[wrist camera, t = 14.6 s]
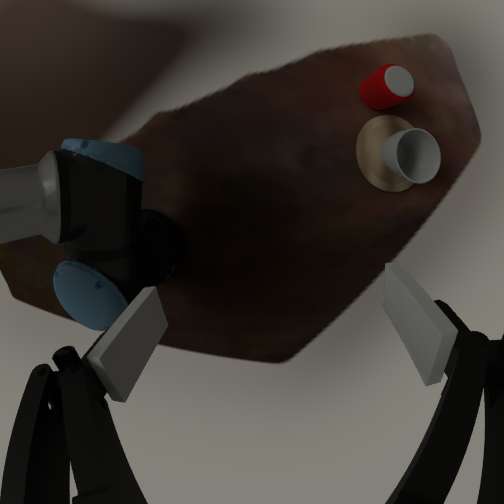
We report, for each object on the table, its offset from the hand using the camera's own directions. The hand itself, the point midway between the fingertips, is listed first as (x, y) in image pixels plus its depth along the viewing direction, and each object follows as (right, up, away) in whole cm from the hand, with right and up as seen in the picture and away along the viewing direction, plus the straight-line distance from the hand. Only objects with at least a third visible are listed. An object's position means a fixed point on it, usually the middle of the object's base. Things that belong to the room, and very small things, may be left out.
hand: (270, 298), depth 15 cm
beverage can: (+20, +30, +24) cm, 44 cm away
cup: (+24, +20, +27) cm, 41 cm away
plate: (+24, +20, +28) cm, 42 cm away
